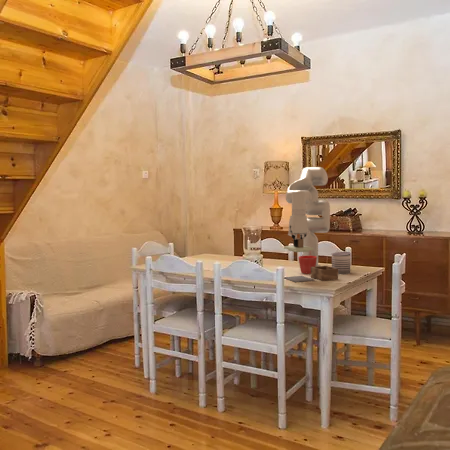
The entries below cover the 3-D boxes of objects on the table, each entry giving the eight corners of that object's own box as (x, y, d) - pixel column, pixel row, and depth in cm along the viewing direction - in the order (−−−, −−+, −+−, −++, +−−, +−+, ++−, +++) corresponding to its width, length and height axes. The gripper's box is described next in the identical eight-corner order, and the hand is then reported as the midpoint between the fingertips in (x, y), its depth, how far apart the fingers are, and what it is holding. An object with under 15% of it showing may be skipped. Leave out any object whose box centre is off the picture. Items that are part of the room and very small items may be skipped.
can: (353, 274, 302) (353, 253, 301) (334, 274, 301) (334, 254, 300) (347, 270, 313) (347, 251, 312) (329, 271, 313) (329, 251, 312)
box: (310, 277, 293) (310, 266, 293) (326, 276, 297) (326, 265, 296) (322, 281, 282) (322, 270, 281) (338, 279, 285) (338, 268, 285)
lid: (284, 250, 290) (284, 238, 290) (301, 249, 294) (301, 237, 294) (295, 252, 278) (295, 240, 278) (313, 251, 282) (313, 239, 282)
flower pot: (295, 272, 311) (295, 256, 311) (311, 270, 315) (311, 255, 314) (303, 274, 301) (303, 258, 301) (320, 273, 305) (320, 257, 304)
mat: (283, 278, 292) (283, 277, 292) (301, 276, 297) (301, 275, 297) (295, 282, 279) (295, 281, 279) (314, 280, 284) (314, 279, 284)
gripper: (308, 212, 291) (307, 245, 293) (282, 213, 285) (282, 246, 287) (315, 213, 284) (314, 246, 286) (288, 213, 278) (288, 247, 280)
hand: (298, 246), depth 286 cm, fingers closed on lid, 2 cm apart
